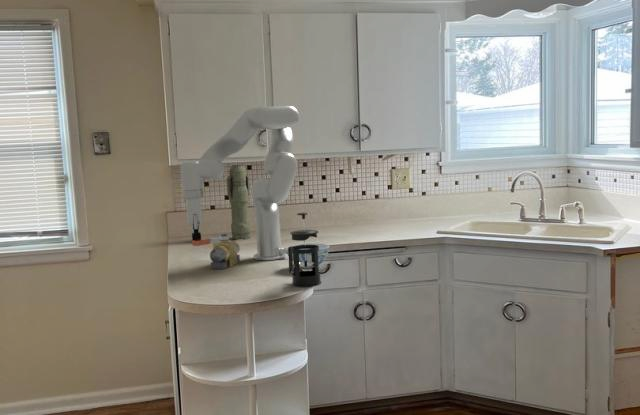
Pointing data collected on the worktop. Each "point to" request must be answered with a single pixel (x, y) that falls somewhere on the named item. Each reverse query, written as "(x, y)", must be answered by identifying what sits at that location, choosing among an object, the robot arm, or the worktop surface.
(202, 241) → the valve lever
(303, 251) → the french press
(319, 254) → the chinaware
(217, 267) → the ball valve
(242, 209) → the green piece
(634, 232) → the worktop surface
